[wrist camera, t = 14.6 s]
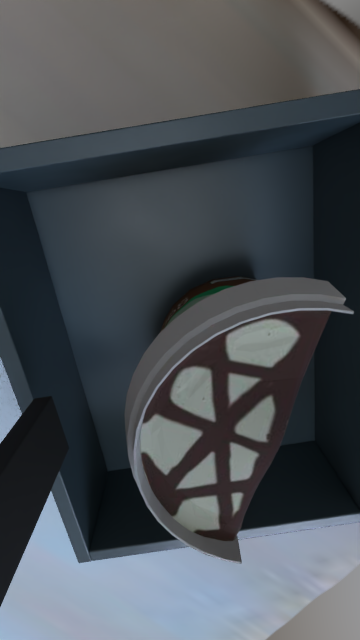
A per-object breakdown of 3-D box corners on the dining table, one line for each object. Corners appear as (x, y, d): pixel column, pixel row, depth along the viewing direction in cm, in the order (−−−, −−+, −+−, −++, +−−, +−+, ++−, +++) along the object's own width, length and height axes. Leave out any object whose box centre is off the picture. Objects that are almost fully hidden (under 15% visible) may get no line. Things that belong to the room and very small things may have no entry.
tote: (321, 130, 17) (410, 80, 11) (321, 441, 24) (375, 520, 18) (12, 180, 17) (-75, 159, 11) (101, 474, 24) (78, 563, 18)
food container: (164, 229, 18) (160, 243, 8) (263, 255, 19) (362, 294, 9) (124, 405, 22) (90, 553, 12) (208, 421, 22) (237, 572, 13)
